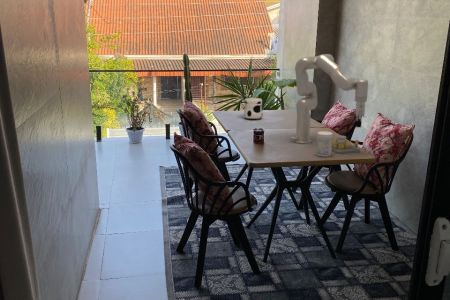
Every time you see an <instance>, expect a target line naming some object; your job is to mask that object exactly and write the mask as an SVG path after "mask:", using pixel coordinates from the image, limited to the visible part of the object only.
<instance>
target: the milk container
mask: <svg viewBox="0 0 450 300" xmlns="http://www.w3.org/2000/svg"><path fill="white" fill-rule="evenodd" d="M263 114H264V111H263V100H262V98H259V97H245V99H244V110H243V118H244V119H246V120H252V121H253V120H260V119H262V118H263V117H264V116H263Z"/></svg>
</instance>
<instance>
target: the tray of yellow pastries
mask: <svg viewBox="0 0 450 300" xmlns="http://www.w3.org/2000/svg"><path fill="white" fill-rule="evenodd" d="M336 139H338V140H337V142H338V143H340V144H345V140H346V139H347V136H346V135H336ZM332 152H334V153H335V154H337V155H341V154H352V153H353V154H355V153H360V149H358V148H355V147H350V148H348V149H338V148H334V147H332ZM354 152H355V153H354Z"/></svg>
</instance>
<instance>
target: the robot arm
mask: <svg viewBox="0 0 450 300" xmlns="http://www.w3.org/2000/svg"><path fill="white" fill-rule="evenodd" d="M314 69H321V70H322V71H323V72H324V73H326V74H327V75H328V76H330V78H331V81H332V82H333V84H335V86H337V87H338V88H339V89H341V90H342V91H345V92H349V91H354V102H355V116H356V122H355V127H356V128H361V127H362V121H363V120H362V118H365V113H366V111H365V109H366V103H367V101H368V93H369V92H368V90H369V80H368V79H365V78H363V79H360V78H354V77H351V78H346V77H345V76H344V75H343V74H342V73H341V72H340V69H341V67H340V65H339V64H337V62H335V58H334V57H333V55H332V54H329V53H324V54H320V55H316V56H314V55H313V56H306V57H302V58H300V59H298V60H297V61H296V63H295V67H294V71H295V79H296V92H297V95H298V96H300V97H302V98H300V99H298V100H297V101H296V103H295V105H296V106H295V107H296V108H295V109H296V129H295V130H296V131H295V135H294V136H289V140H293V142H294V143H298V144H310V143H312V139H311V138H310V133H311V132H310V131H311V113H310V111H312V110H315V109H316V108H317V106H318V92H317V86H316V84H315V83H314V82H313V81H310V80H309V74H308V71H307V70H314Z"/></svg>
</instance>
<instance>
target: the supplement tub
mask: <svg viewBox="0 0 450 300" xmlns="http://www.w3.org/2000/svg"><path fill="white" fill-rule="evenodd" d="M316 135H317V136H316V138H317V139H316V152H315V153H316V154H315V155H317V156H318V157H324V158H326V157H327V158H328V157H330V156H331V155H332V152H333V151H332V141H333V132H331V131H317V134H316Z"/></svg>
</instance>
